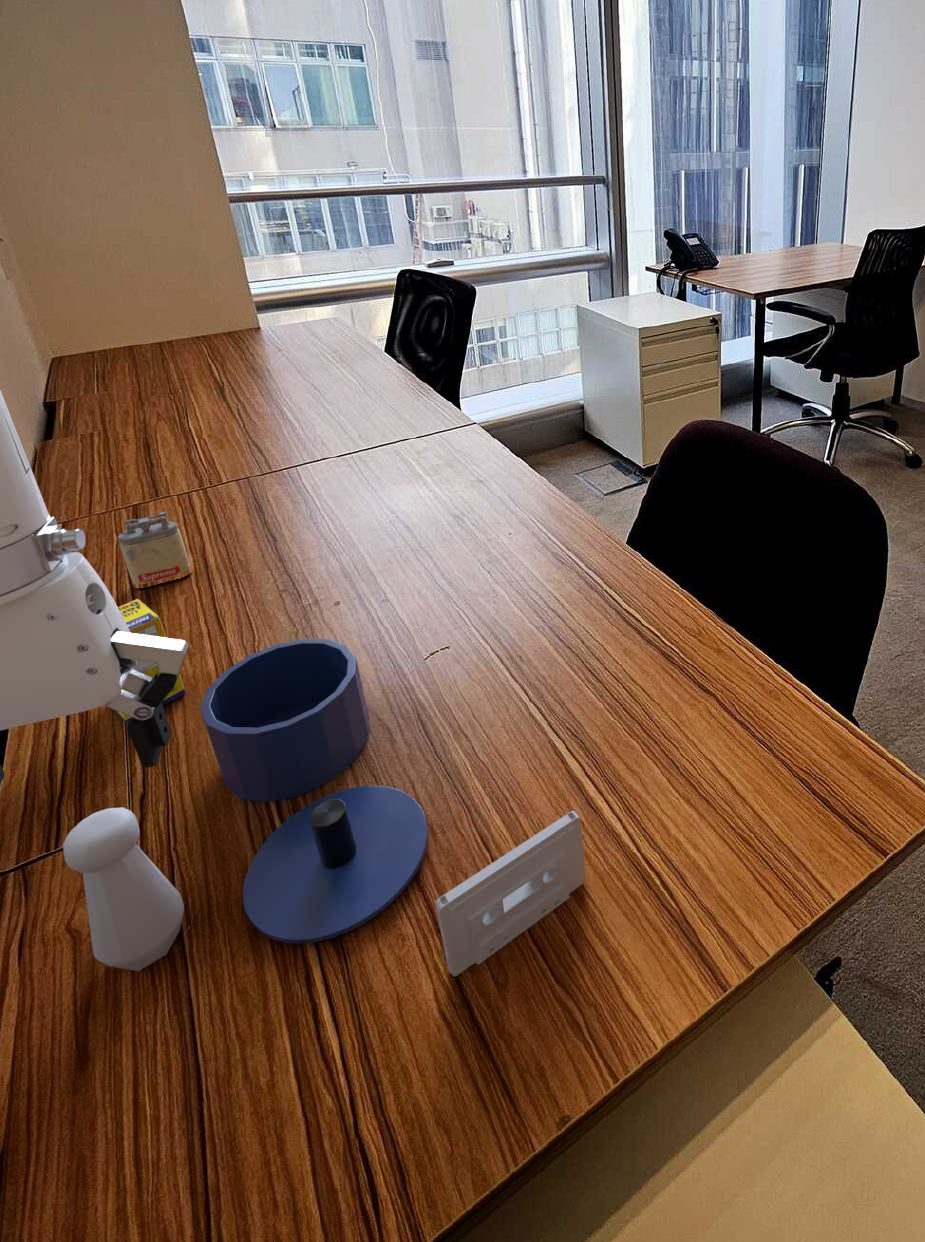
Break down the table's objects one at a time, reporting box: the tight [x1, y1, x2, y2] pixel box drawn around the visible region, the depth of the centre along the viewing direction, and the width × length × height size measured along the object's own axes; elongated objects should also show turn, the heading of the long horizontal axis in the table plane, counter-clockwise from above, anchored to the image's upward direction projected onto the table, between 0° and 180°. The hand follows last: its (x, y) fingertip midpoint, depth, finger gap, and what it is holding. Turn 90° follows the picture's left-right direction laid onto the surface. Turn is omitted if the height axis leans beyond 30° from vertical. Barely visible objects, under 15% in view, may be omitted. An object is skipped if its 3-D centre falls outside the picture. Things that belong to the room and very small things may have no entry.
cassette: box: [434, 810, 587, 977], centre depth 58 cm, size 12×2×8 cm, turn 131°
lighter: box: [117, 511, 191, 584], centre depth 104 cm, size 7×4×10 cm, turn 122°
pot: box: [199, 638, 371, 803], centre depth 75 cm, size 14×14×8 cm
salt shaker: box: [62, 806, 185, 972], centre depth 56 cm, size 6×6×13 cm
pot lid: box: [242, 785, 429, 945], centre depth 63 cm, size 15×15×6 cm
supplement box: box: [113, 598, 187, 726], centre depth 81 cm, size 6×6×11 cm
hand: (75, 772), depth 51 cm, fingers open, 9 cm apart
